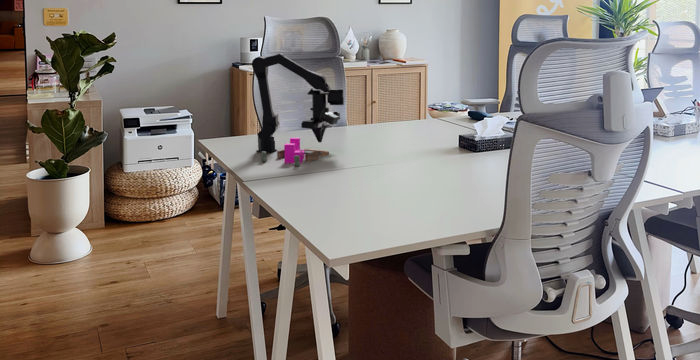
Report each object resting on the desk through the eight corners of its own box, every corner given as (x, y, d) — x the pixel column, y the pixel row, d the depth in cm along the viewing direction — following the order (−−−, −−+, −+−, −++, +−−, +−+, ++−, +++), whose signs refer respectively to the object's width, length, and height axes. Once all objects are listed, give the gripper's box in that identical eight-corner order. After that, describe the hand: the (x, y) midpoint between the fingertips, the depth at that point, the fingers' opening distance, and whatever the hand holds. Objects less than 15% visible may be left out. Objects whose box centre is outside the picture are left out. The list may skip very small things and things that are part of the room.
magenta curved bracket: (300, 163, 286) (300, 144, 284) (284, 163, 286) (284, 144, 285) (306, 155, 300) (305, 137, 299) (291, 155, 301) (290, 137, 299)
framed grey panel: (260, 162, 288) (260, 152, 287) (300, 150, 311) (299, 141, 310) (297, 167, 279) (297, 156, 278) (335, 154, 301) (335, 145, 300)
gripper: (323, 109, 291) (323, 147, 295) (347, 103, 307) (347, 140, 310) (300, 107, 297) (300, 145, 300) (325, 102, 312) (325, 138, 316)
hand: (319, 142), depth 307 cm, fingers closed
